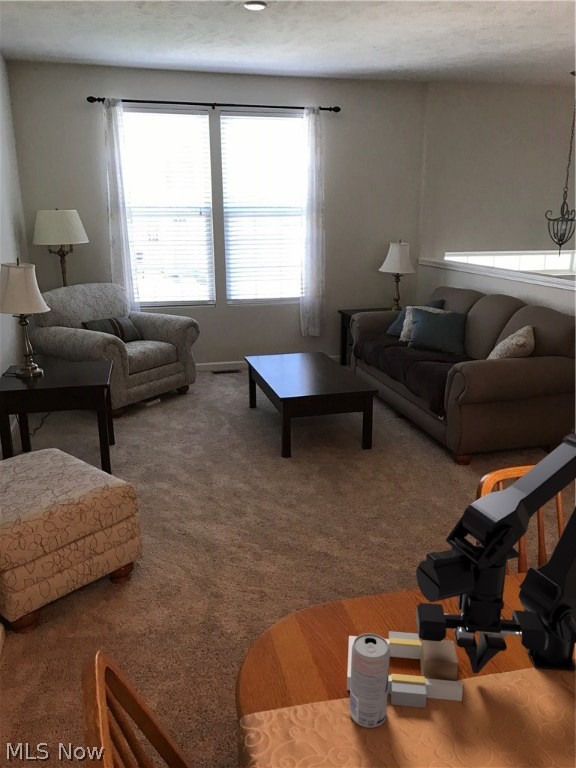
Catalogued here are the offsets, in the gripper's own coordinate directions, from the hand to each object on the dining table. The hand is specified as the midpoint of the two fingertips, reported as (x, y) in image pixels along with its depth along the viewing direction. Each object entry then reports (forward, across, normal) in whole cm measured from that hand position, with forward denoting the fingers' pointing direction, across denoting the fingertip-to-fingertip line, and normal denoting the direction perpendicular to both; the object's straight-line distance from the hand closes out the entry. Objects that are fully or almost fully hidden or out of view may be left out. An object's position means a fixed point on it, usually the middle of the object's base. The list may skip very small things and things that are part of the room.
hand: (474, 671), depth 92 cm
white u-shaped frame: (+2, +11, 0) cm, 11 cm away
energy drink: (+2, +17, +9) cm, 19 cm away
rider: (+2, +6, 0) cm, 6 cm away
